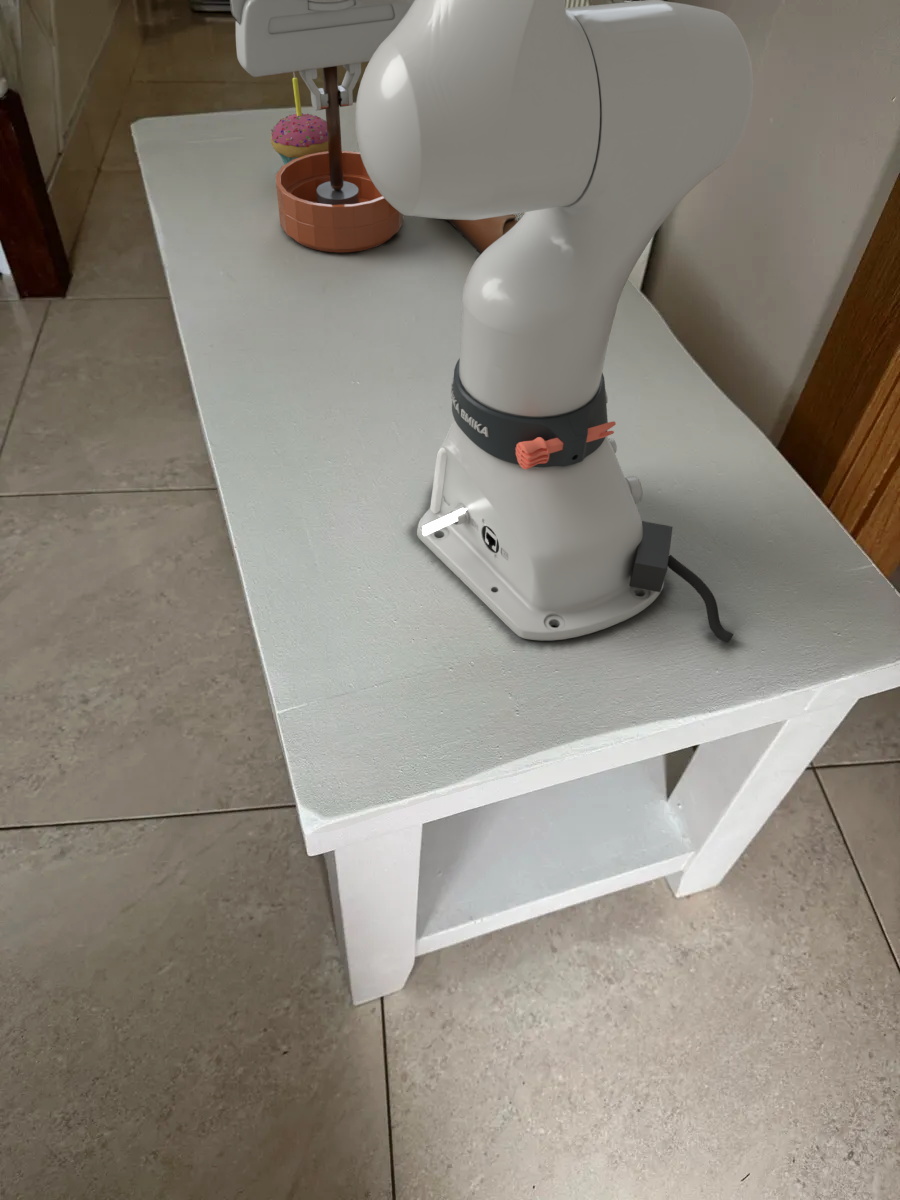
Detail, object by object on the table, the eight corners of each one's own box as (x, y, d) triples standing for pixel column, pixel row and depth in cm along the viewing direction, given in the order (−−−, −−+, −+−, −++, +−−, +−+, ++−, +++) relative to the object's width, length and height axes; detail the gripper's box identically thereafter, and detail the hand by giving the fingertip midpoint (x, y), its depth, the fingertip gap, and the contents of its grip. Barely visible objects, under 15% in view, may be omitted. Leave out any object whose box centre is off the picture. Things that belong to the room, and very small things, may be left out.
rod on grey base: (365, 214, 115) (359, 57, 102) (326, 221, 114) (314, 64, 101) (350, 196, 118) (342, 42, 105) (311, 203, 117) (298, 48, 104)
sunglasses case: (558, 260, 112) (538, 218, 106) (511, 297, 112) (489, 259, 107) (488, 196, 122) (467, 156, 117) (446, 231, 123) (423, 193, 118)
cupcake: (267, 163, 128) (256, 68, 119) (326, 154, 131) (320, 60, 122) (284, 190, 123) (274, 92, 114) (345, 180, 125) (340, 84, 116)
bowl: (422, 241, 115) (422, 193, 110) (305, 265, 110) (301, 216, 106) (374, 189, 124) (373, 143, 119) (265, 209, 119) (259, 162, 115)
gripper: (235, -17, 92) (253, 130, 102) (424, -36, 98) (423, 103, 108) (217, -34, 95) (236, 109, 106) (400, -52, 102) (401, 85, 112)
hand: (332, 106), depth 107 cm, fingers closed on rod on grey base
